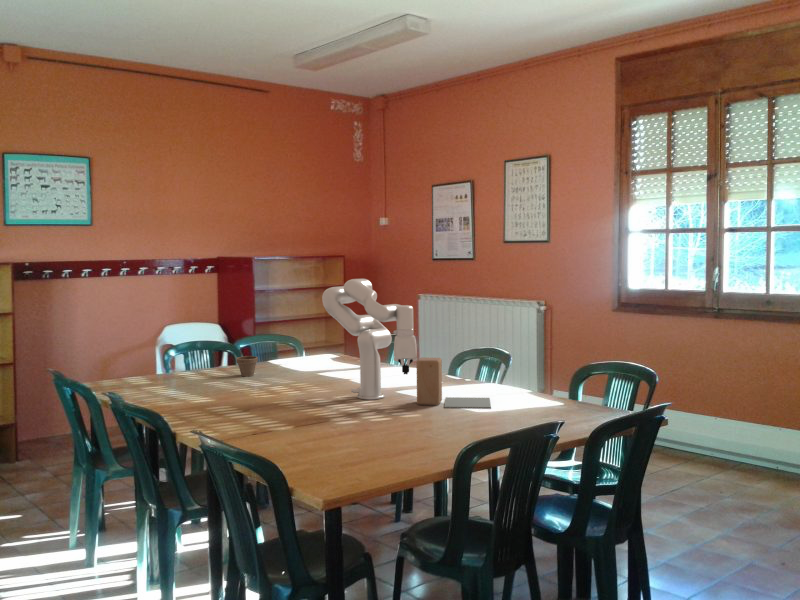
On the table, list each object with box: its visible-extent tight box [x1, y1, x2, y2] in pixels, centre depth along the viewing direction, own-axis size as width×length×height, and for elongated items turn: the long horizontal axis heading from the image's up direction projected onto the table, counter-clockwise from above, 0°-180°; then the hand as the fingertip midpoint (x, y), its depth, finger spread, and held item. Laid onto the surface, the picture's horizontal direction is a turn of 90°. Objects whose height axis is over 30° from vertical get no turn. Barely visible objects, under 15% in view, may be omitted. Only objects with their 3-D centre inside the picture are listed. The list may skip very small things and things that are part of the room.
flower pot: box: [236, 355, 259, 378], centre depth 420 cm, size 12×11×10 cm
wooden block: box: [416, 356, 443, 406], centre depth 343 cm, size 10×10×20 cm
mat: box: [444, 396, 492, 409], centre depth 343 cm, size 20×20×1 cm
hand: (405, 373), depth 344 cm, fingers closed
